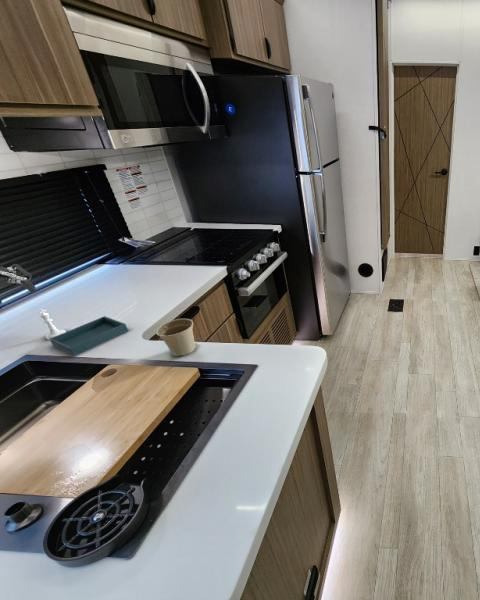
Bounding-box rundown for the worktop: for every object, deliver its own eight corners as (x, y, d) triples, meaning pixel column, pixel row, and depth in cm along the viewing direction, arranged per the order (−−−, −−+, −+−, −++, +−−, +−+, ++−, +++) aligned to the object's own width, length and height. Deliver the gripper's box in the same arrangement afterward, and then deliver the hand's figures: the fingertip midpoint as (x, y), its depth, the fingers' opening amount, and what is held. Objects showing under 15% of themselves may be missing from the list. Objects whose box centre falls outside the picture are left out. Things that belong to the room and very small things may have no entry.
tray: (74, 356, 99) (69, 348, 98) (53, 346, 104) (49, 338, 103) (128, 330, 111) (125, 323, 110) (107, 322, 116) (104, 316, 115)
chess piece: (42, 338, 108) (25, 312, 103) (59, 330, 112) (44, 304, 107) (53, 340, 107) (37, 313, 102) (70, 332, 111) (55, 306, 106)
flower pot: (186, 361, 96) (176, 337, 92) (158, 358, 98) (147, 334, 94) (208, 343, 105) (200, 319, 101) (182, 340, 106) (173, 317, 102)
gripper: (-63, 260, 94) (-11, 300, 97) (1, 245, 106) (45, 281, 109) (-62, 276, 98) (-13, 314, 101) (0, 259, 110) (42, 293, 113)
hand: (17, 296), depth 105 cm, fingers open, 8 cm apart
